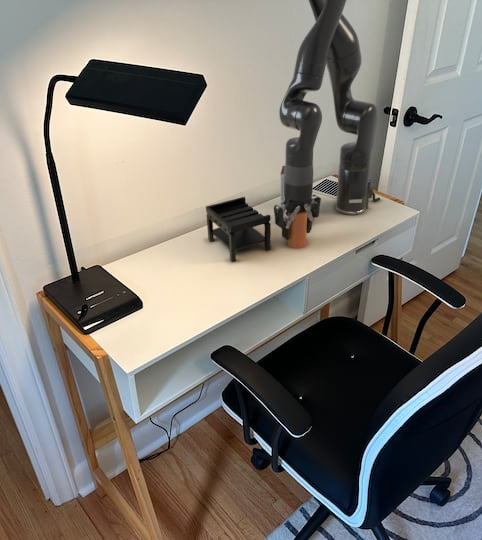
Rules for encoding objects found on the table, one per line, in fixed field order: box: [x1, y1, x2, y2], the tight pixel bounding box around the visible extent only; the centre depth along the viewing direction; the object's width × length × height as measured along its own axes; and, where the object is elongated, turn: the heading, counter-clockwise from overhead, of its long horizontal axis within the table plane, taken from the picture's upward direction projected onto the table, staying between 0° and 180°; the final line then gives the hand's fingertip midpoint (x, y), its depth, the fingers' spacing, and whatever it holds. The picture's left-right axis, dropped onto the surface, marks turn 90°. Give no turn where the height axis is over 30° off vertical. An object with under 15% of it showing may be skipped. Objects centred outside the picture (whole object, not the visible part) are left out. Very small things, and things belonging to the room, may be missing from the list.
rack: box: [205, 196, 272, 263], centre depth 140 cm, size 12×14×10 cm
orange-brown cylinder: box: [286, 212, 307, 249], centre depth 141 cm, size 5×5×10 cm
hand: (296, 235), depth 142 cm, fingers open, 6 cm apart
